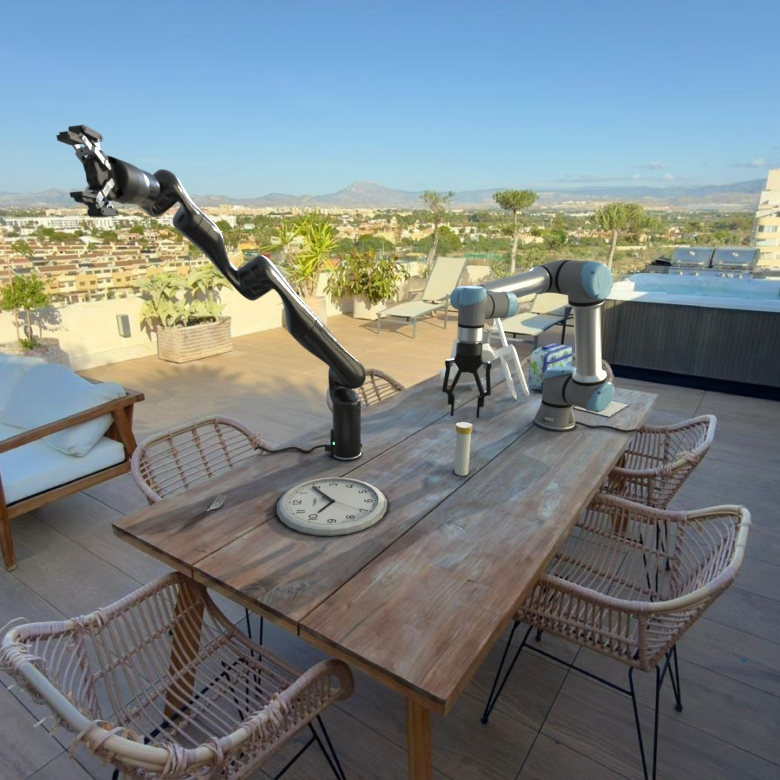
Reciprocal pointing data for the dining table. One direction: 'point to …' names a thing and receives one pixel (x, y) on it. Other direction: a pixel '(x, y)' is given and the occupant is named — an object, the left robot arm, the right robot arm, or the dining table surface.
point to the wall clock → (331, 506)
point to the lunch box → (547, 362)
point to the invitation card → (608, 408)
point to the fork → (213, 506)
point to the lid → (464, 428)
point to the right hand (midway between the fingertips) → (464, 415)
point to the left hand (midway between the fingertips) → (68, 165)
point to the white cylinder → (462, 454)
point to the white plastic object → (496, 359)
